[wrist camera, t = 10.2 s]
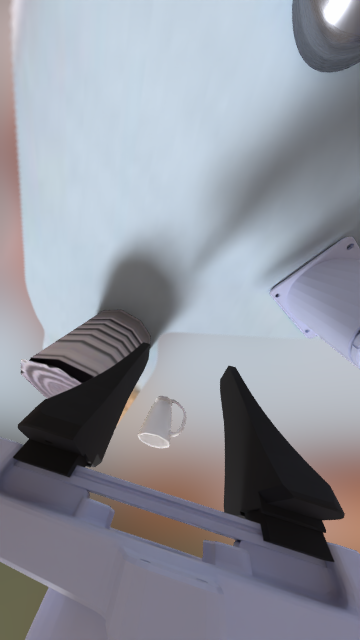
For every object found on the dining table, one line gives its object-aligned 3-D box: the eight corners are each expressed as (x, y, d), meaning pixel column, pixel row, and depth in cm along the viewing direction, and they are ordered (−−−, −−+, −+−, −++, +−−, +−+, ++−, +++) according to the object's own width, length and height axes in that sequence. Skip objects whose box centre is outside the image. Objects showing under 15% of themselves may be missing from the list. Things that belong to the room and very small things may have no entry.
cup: (146, 393, 33) (130, 432, 26) (182, 390, 30) (175, 434, 23) (158, 408, 36) (147, 447, 29) (192, 407, 33) (189, 450, 26)
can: (157, 359, 26) (126, 432, 16) (107, 356, 28) (52, 419, 18) (143, 307, 21) (82, 368, 10) (83, 309, 23) (-15, 361, 13)
